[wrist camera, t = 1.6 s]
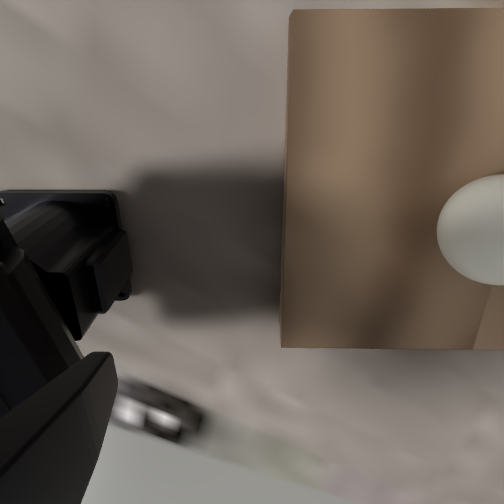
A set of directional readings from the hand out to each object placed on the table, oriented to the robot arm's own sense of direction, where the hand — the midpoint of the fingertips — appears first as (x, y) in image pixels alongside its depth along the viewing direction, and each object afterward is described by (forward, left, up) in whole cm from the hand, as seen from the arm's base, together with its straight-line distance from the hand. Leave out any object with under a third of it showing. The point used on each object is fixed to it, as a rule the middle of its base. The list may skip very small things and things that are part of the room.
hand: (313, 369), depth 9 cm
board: (+9, 0, -13) cm, 16 cm away
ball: (+9, 0, -8) cm, 12 cm away
